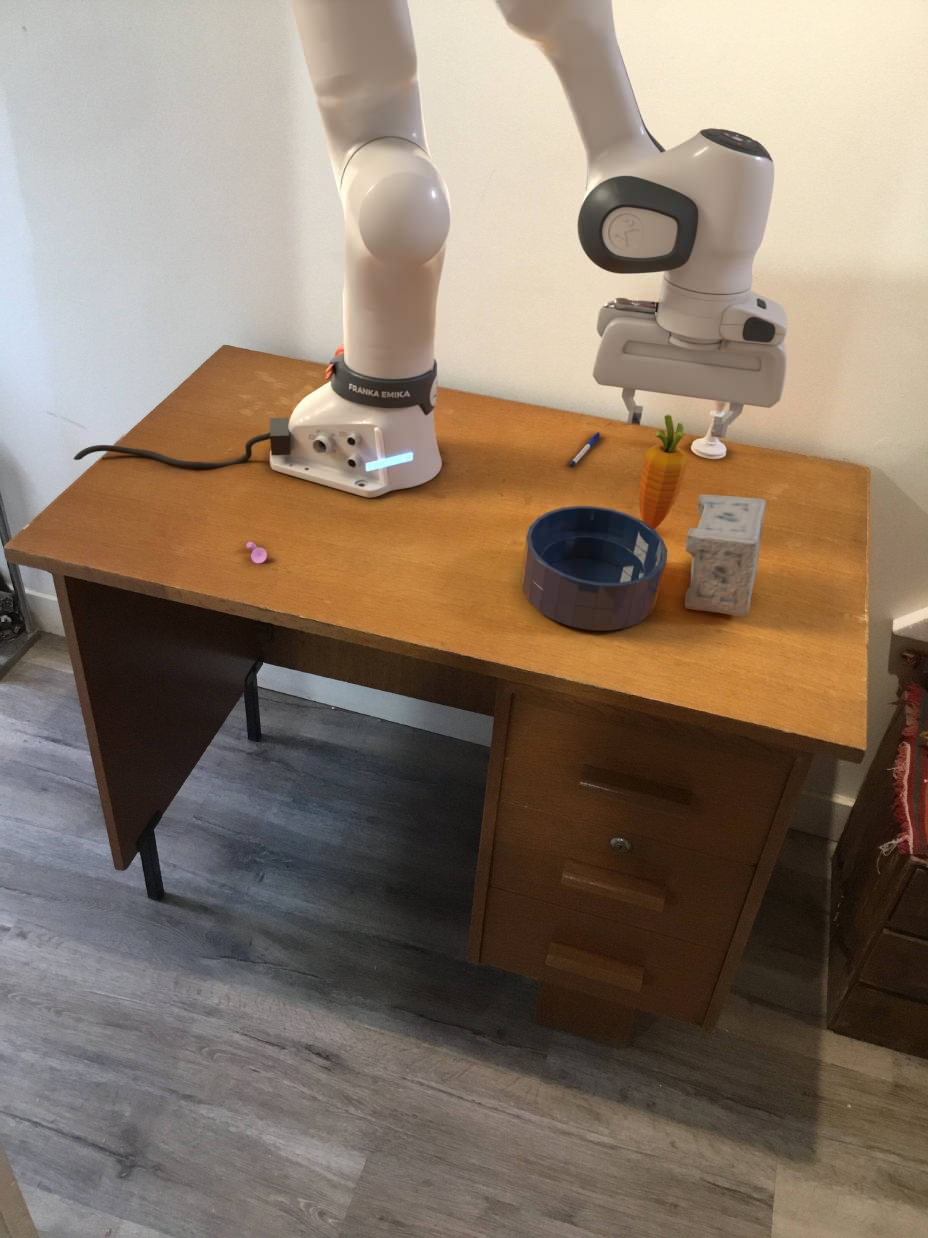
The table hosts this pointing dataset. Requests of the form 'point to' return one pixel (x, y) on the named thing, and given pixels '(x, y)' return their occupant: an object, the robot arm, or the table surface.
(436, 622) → the table surface
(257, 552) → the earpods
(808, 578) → the table surface
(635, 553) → the blue pet bowl
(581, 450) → the ballpoint pen
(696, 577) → the incense holder
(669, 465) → the carrot
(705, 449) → the chess piece
